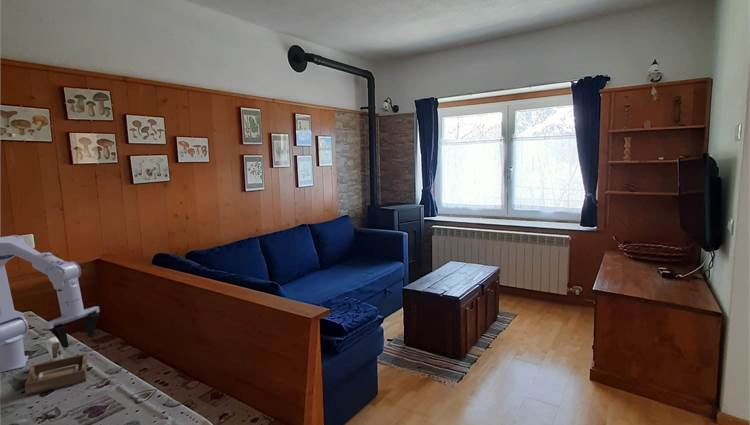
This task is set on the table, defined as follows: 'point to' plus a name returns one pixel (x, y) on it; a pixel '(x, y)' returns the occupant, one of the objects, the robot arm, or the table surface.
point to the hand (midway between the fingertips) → (78, 341)
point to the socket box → (56, 374)
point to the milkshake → (55, 349)
